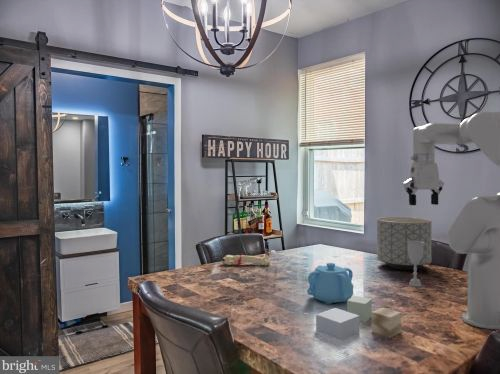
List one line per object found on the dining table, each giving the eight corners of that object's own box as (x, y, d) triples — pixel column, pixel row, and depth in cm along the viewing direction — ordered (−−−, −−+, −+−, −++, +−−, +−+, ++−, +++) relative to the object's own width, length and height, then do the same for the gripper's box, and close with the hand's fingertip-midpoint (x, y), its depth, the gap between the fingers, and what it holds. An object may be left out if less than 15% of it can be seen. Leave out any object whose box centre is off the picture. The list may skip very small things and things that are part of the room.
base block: (359, 332, 118) (359, 315, 118) (340, 340, 112) (340, 323, 112) (335, 323, 125) (335, 307, 125) (316, 330, 119) (316, 314, 119)
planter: (427, 276, 180) (427, 223, 179) (371, 269, 193) (371, 220, 192) (434, 265, 201) (434, 218, 201) (383, 260, 214) (383, 215, 214)
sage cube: (371, 317, 130) (371, 298, 130) (365, 322, 125) (365, 303, 125) (353, 313, 133) (353, 295, 133) (347, 318, 128) (347, 300, 128)
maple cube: (400, 332, 117) (401, 312, 117) (389, 338, 113) (390, 317, 113) (382, 326, 122) (382, 307, 121) (371, 331, 118) (371, 311, 118)
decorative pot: (301, 302, 146) (301, 265, 145) (318, 290, 159) (318, 257, 159) (345, 309, 137) (345, 270, 136) (358, 297, 151) (358, 261, 150)
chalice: (425, 287, 162) (426, 243, 162) (408, 286, 164) (408, 243, 163) (421, 282, 170) (422, 240, 169) (405, 282, 171) (405, 240, 170)
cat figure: (269, 265, 209) (222, 261, 212) (270, 249, 209) (224, 244, 211) (268, 270, 199) (219, 265, 202) (269, 253, 199) (220, 248, 201)
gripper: (410, 158, 144) (410, 206, 144) (450, 159, 148) (450, 204, 149) (397, 159, 151) (397, 204, 151) (436, 160, 155) (436, 203, 156)
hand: (423, 204), depth 150 cm, fingers open, 9 cm apart
